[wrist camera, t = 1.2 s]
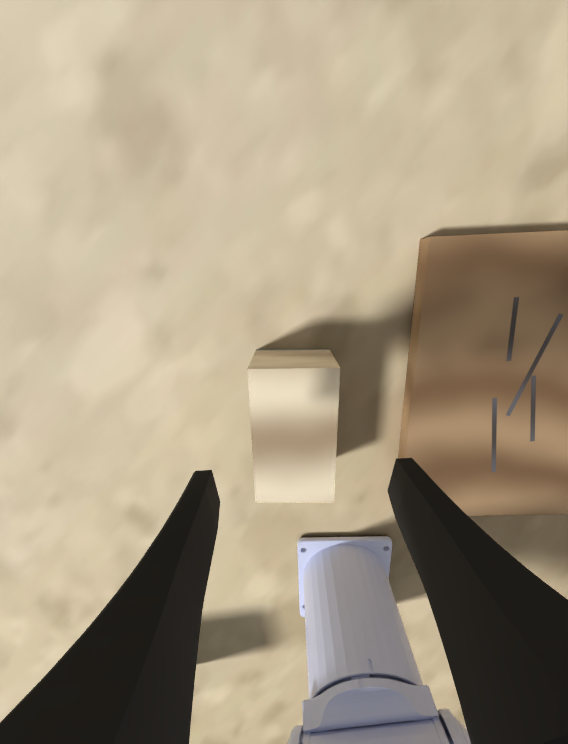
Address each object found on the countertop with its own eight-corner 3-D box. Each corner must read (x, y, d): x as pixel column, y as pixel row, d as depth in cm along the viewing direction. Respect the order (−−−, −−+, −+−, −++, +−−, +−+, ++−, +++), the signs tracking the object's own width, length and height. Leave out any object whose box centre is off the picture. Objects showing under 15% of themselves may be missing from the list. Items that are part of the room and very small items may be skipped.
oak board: (568, 502, 23) (582, 513, 22) (393, 505, 23) (398, 517, 22) (660, 228, 17) (688, 224, 16) (420, 239, 17) (429, 236, 16)
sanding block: (325, 459, 22) (333, 502, 18) (261, 460, 22) (255, 502, 18) (328, 348, 19) (340, 367, 15) (256, 349, 20) (247, 369, 15)
